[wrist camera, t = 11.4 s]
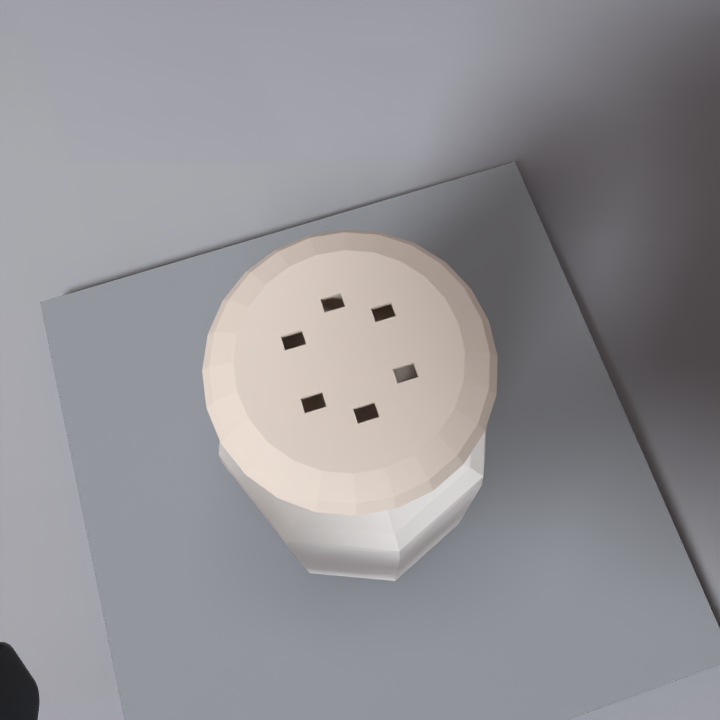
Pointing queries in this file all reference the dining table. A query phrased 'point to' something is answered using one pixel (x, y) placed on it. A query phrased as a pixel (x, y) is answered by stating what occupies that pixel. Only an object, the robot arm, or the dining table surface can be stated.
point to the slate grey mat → (434, 569)
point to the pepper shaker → (353, 398)
